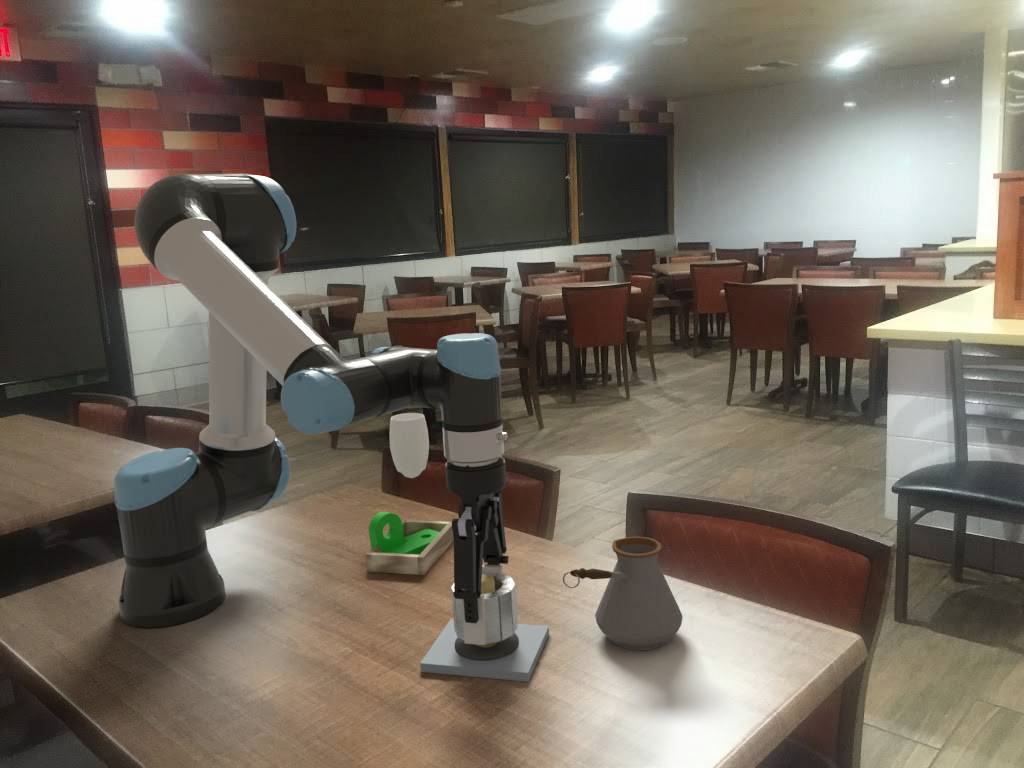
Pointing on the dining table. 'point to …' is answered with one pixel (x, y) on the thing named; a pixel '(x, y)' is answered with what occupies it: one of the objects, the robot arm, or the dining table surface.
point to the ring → (493, 610)
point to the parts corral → (411, 561)
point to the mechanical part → (397, 535)
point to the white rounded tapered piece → (409, 443)
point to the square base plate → (487, 651)
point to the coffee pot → (635, 597)
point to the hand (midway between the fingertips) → (485, 626)
